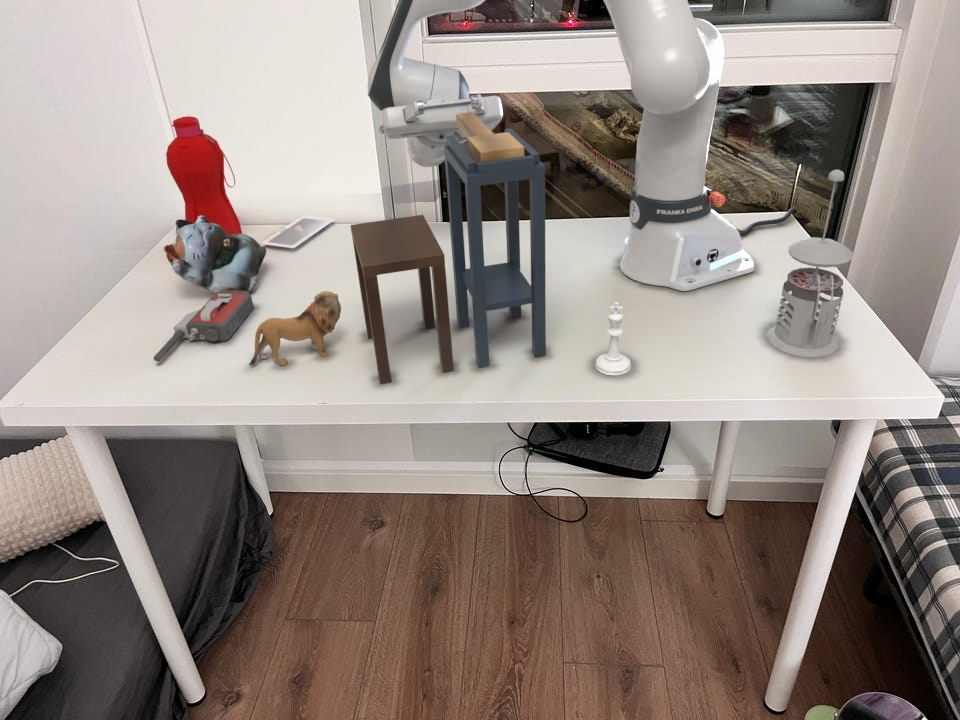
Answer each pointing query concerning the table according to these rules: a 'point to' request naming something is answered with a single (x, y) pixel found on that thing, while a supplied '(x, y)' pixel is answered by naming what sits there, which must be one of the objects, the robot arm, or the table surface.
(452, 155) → the tall stand
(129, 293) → the table surface
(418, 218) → the low stand
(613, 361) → the chess piece
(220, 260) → the lucky cat figurine
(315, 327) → the lion figurine
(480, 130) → the crossed tan timber pieces
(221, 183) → the water bottle
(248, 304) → the walkie-talkie
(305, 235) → the touchpad
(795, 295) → the french press
